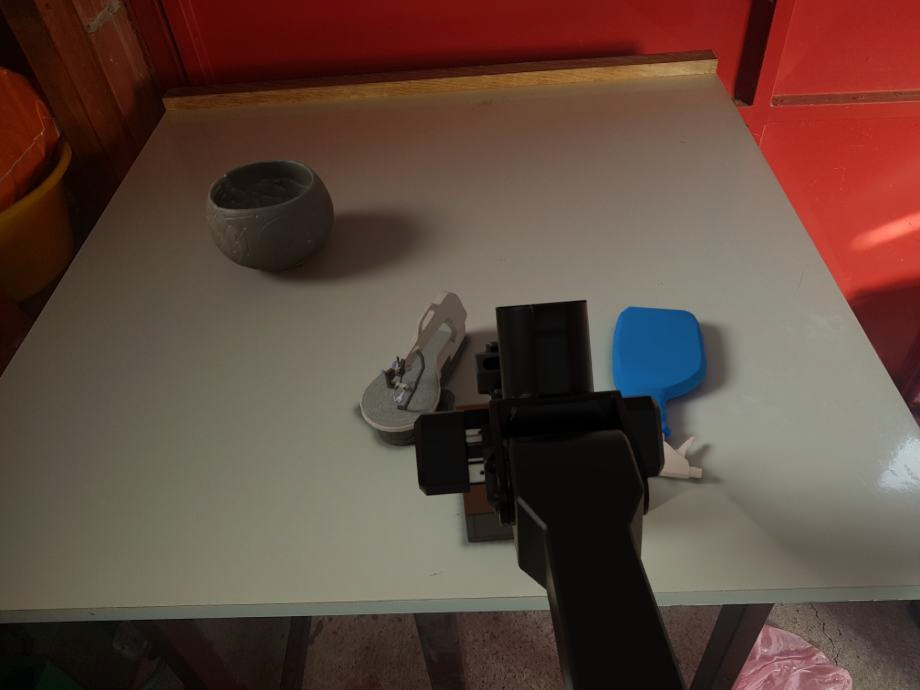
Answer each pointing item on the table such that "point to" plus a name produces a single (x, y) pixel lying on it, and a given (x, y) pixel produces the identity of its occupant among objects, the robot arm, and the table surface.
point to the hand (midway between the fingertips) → (528, 432)
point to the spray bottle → (660, 366)
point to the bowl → (269, 214)
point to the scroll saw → (418, 373)
